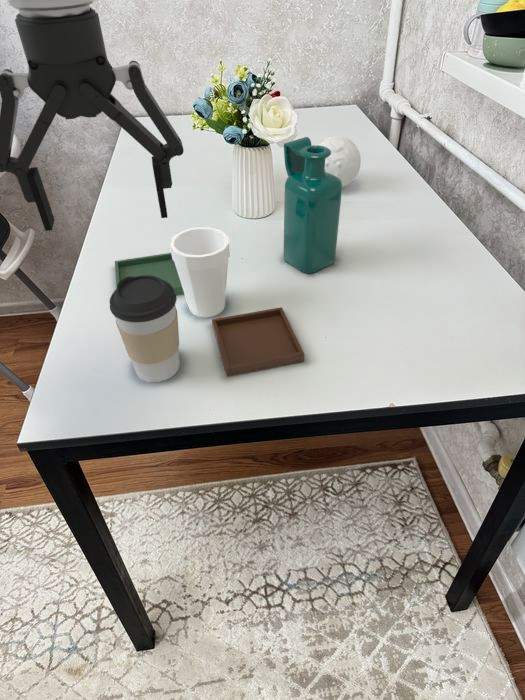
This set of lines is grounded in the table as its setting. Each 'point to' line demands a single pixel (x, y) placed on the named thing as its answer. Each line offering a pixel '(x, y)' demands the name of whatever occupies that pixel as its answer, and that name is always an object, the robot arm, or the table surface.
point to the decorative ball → (342, 158)
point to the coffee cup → (148, 325)
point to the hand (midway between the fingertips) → (108, 219)
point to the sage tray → (150, 269)
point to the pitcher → (310, 207)
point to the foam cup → (202, 268)
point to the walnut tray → (256, 341)
